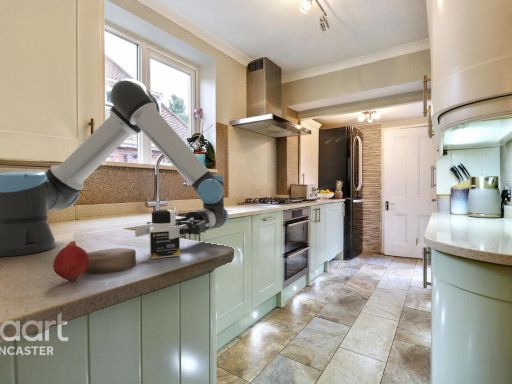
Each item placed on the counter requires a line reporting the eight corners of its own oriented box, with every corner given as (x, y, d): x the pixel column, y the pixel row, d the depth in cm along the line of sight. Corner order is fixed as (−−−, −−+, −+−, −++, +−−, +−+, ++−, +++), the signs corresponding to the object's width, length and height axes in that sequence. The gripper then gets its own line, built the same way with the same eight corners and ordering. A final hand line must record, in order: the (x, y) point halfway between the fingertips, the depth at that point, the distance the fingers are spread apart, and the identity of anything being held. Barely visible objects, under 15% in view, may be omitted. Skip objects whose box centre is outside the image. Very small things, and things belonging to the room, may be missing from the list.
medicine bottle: (150, 259, 68) (149, 211, 68) (149, 252, 75) (148, 209, 74) (180, 256, 71) (179, 210, 71) (176, 250, 78) (175, 208, 77)
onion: (51, 288, 50) (49, 245, 49) (57, 279, 55) (55, 239, 54) (88, 283, 52) (87, 242, 52) (90, 274, 57) (89, 237, 57)
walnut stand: (93, 261, 67) (93, 249, 67) (140, 258, 69) (140, 247, 69) (72, 275, 57) (72, 261, 57) (128, 272, 59) (128, 258, 59)
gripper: (230, 234, 86) (191, 250, 65) (171, 230, 94) (118, 244, 72) (230, 210, 86) (190, 219, 65) (171, 209, 93) (118, 216, 72)
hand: (152, 232), depth 69 cm, fingers closed on medicine bottle, 10 cm apart
